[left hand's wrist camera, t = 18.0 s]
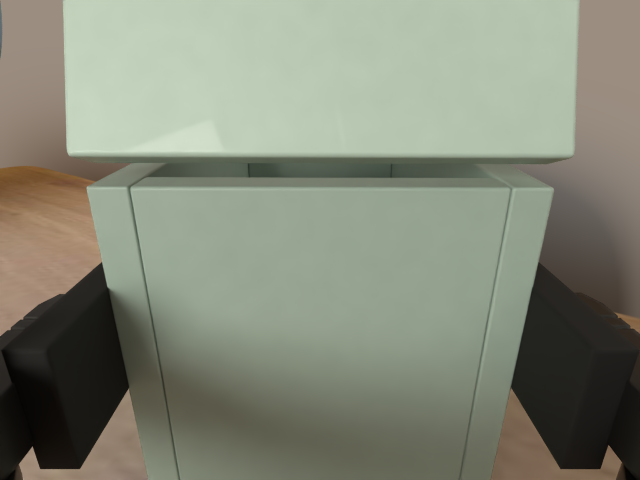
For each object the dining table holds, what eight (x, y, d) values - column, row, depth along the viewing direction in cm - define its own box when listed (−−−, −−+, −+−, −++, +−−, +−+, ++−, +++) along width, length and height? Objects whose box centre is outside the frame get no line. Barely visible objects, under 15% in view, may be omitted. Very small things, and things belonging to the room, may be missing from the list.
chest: (243, 284, 26) (231, 111, 22) (395, 284, 26) (409, 112, 22) (158, 529, 12) (85, 187, 8) (480, 530, 12) (556, 188, 8)
